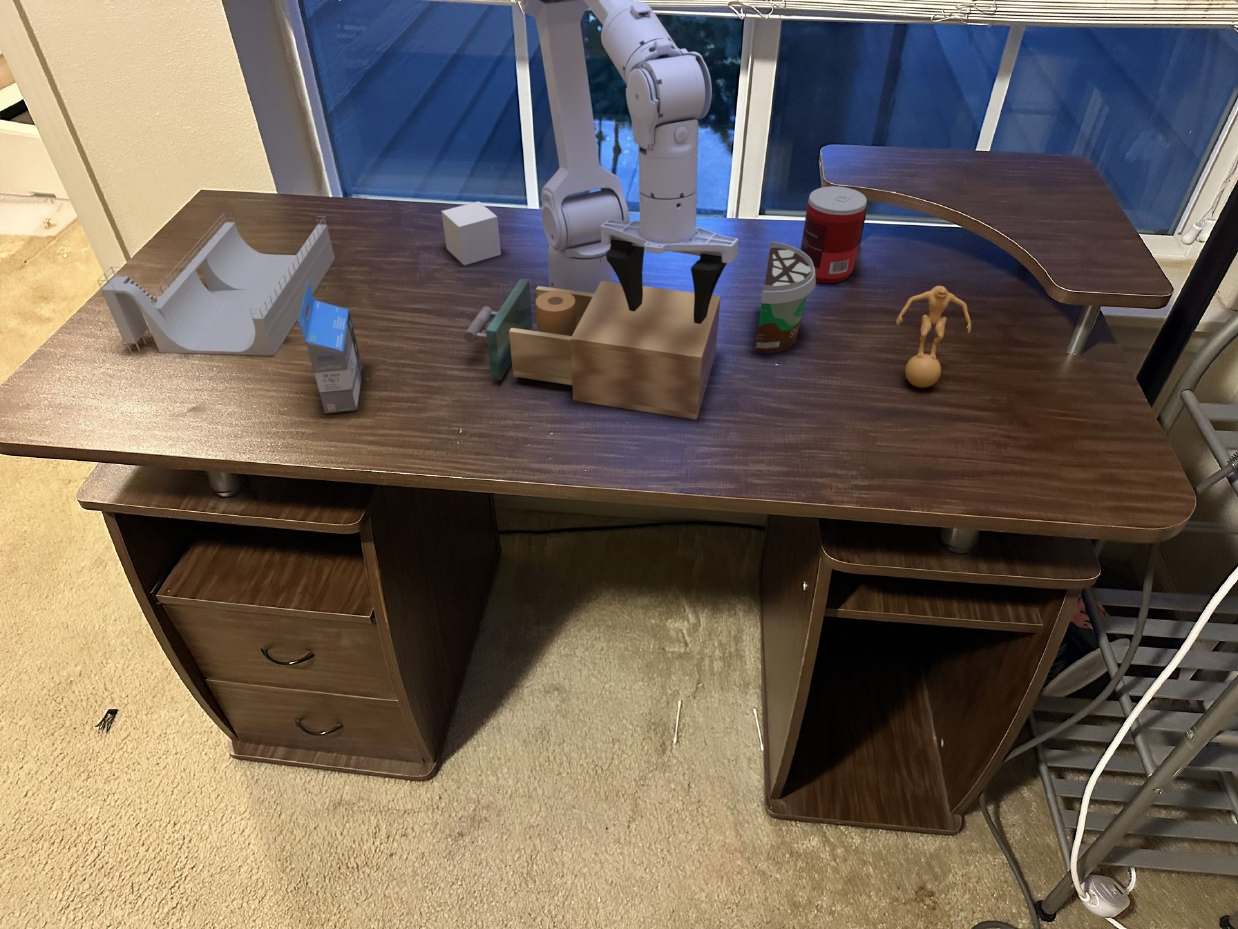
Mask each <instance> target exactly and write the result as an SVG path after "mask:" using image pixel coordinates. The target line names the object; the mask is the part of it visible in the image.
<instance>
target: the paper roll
mask: <svg viewBox="0 0 1238 929" xmlns="http://www.w3.org/2000/svg"><path fill="white" fill-rule="evenodd" d="M535 312H536V313H535V314H536V327H537V330H538V332H545V333H552V334H559V335H566V336H572V335H573V333H574V331H575V329H576V306H575V298H574V297H573V296H572V295H571V294H569V293H567V292H563V291H549V292H546V293H543V294H541V295H539V296H538V297H537V298H536V299H535Z"/></svg>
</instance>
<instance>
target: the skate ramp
mask: <svg viewBox="0 0 1238 929" xmlns="http://www.w3.org/2000/svg"><path fill="white" fill-rule="evenodd" d="M230 215H231V216H232V217H229V219H231V220H232V221H233V222H231V221H227V220H226V217H225V213H223V214H222V215H221V216H220V217H219V218H218V219H217V220H216V221H215V223H217V222H218V223H219V225H217V226H216V225H215V224H213V225H212V226H210V228H209V229H208V231H206V233H209V235H208V236H207V237H206V235H203V236H202V237H201V238H200V239H199V240H198V242H197V243H198V245H199V246H198V247H197V248H196V249H195V247H196V246H197V244H195V245H194V246H192V248H191V249H190V251H188V253H187V254H186V255H185V256H183V258H182V259H181V261H179V263H182V262H183V264H182V265H181V266H180V267H179V264H177V265H176V266H175V267H174V268H173V269H172V270H171V271H170V274H171V277H172V278H173V281H172V283H171V284H170V285H169V282H170V281H171V279H169V280H167V278H168V277H169V276H170V274H168V275H166V277H165V278H164V279H163V280H162V282H164V281H165V282H166V283H165V284H164V286H166V285H167V289H165V291H163V289H164V287H162V286H161V284H159V285H158V286H157V287H156V288H155V289H154V290H153V294H150V291H147V290H146V288H142V285H139V284H138V282H135V280H134V279H133V278H132V279H131V278H130V275H129V274H128V272H127V270H126V267H125V266H116V268H118V269H119V268H120V269H121V268H122V269H123V268H124V272H125V273H126V275H124V276H123V275H116V273H117V270H116V271H114V267H113V266H110V267H109V268H108V269H107V270H106V271H105V272H104V273H103V274H102V275H101V276H100V277H99V278H98V279H97V283H98V286H99V288H100V289H101V290H100V291H101V294H102V296H103V298H104V301H105V302H106V305H107V307H108V310H109V312H110V314H111V316H112V318H113V321H114V323H115V325H116V327H117V329H118V331H119V334H120V336H121V338H122V340H123V342H124V343H125V344H126V346H127V349H128V350H129V352H132V348H131V346H130V344H135V346H136V348H137V350H138V352H141V349H140V347H139V344H138V342H139V341H140V339H142V341H143V342H144V345H147V342H146V339H145V336H144V335H145V334H146V333H147V332H148V335H149V337H150V338H151V339H152V338H153V339H154V342H155V344H156V347H157V350H158V352H159V353H164V354H165V353H166V354H168V353H169V354H198V355H199V354H200V355H201V354H202V355H203V354H204V355H206V354H207V355H233V356H234V355H237V356H264V357H265V356H268V357H269V356H270V357H273V356H274V357H275V356H276V355H277V353H278V352H279V350H280V348H281V346H282V345H283V343H284V342H285V340H286V338H287V337H288V335H289V334H290V332H291V331H292V330H293V327H294V325H296V323H297V322H298V317H299V313H300V309H301V305H302V301H303V298H304V294H305V290H306V286H307V283H308V281H309V284H310V287H311V290H312V294H313V295H314V294H315V292H316V290H317V289H318V287H319V286H320V284H321V283H322V281H323V279H324V278H325V276H326V274H327V273H328V271H329V269H330V268H331V267H332V265H333V263H334V262H335V261H336V257H335V253H334V248H333V244H332V241H331V236H330V232H329V227H328V224H327V221H326V218H325V216H324V215H323V216H322V215H320V216H319V215H317V216H316V215H315V219H316V222H317V225H316V226H315V228H314V229H313V231H312V232H311V233H310V235H309V237H307V239H306V240H305V242H304V243H303V245H302V246H301V248H300V249H299V250H298V252H297V253H296V254H295V255H294V254H271V253H270V254H268V253H261V252H259V251H257V250H255V249H254V248H252V247H251V246H250V245H249V244H248V243H246V242H245V240H244V239H243V237H242V236H241V234H240V233H239V230H238V228H237V224H236V222H235V220H234V217H233V215H232V213H230ZM222 217H223V219H222V220H221V221H220V218H222ZM317 217H318V218H322V219H321V220H320V219H319V220H318V219H317ZM223 221H224V224H223V225H222V222H223ZM318 221H319V222H318ZM322 222H323V223H322ZM219 226H220V227H219ZM218 227H219V229H218V231H217V228H218ZM212 228H214V229H213V230H212V232H214V231H215V234H214V235H213V236H212V232H211V229H212ZM209 237H210V239H209V240H208V242H207V239H208V238H209ZM202 239H204V243H205V245H204V246H203V247H202V245H203V243H200V241H201V240H202ZM199 248H200V251H199V252H198V253H197V250H199ZM192 250H193V251H194V252H192V254H191V255H190V253H191V251H192ZM194 254H195V256H194V258H193V259H192V258H191V257H192V256H193V255H194ZM187 256H188V259H189V261H190V262H189V264H187V265H186V263H187V261H185V260H184V259H185V258H186V257H187ZM183 266H184V269H183V270H182V271H181V269H180V268H182V267H183ZM199 267H200V270H201V273H202V276H203V279H204V281H205V284H206V286H205V285H204V284H203V282H202V280H201V279H200V277H199V275H198V272H197V270H198V268H199ZM176 268H177V271H176V272H174V273H173V271H175V269H176ZM110 269H111V271H112V272H111V273H109V275H108V276H107V274H106V273H107V272H108V271H110ZM177 273H179V275H178V276H177V277H176V278H175V275H176V274H177ZM112 274H113V276H114V277H113V278H111V279H110V280H109V279H108V278H109V277H110V276H111V275H112ZM103 276H104V278H105V279H104V280H103V279H101V278H102V277H103ZM100 282H101V283H100ZM104 282H107V284H105V285H104V286H103V287H102V285H103V283H104ZM158 288H159V289H160V290H158V292H157V293H156V294H155V291H156V290H157V289H158ZM160 292H161V295H160V296H159V297H158V298H157V295H158V294H159V293H160ZM153 295H154V296H153Z"/></svg>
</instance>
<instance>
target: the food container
mask: <svg viewBox="0 0 1238 929" xmlns="http://www.w3.org/2000/svg"><path fill="white" fill-rule="evenodd" d="M765 271H766V272H765V278H764V284H763V288H762V294H761V302H760V311H759V318H758V325H757V326H758V327H757V333H756V342H755V349H754V353H758V354H770V353H771V354H773V353H778V352H781V351H784V350H787V349H788V348H790V347H792V346H793V345H794V344H795V342H796V340H797V337H798V333H799V329H800V326H801V322H802V318H803V314H804V309H805V305H806V302H807V298H808V296H809V295H810V294H811V293H812V292H813V291H814V290H815V287H816V285H817V284H816V283H817V282H816V278H815V268H814V266H813V262H812V260H811V259H810V257H809V256H808V255H807V254H806V253H804V252H803V251H801V249H799V248H798V247H795V246H793V245H789V244H786V243H783V242H778V241H770V243H769V250H768V257H767V263H766V270H765Z"/></svg>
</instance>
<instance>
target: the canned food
mask: <svg viewBox="0 0 1238 929" xmlns="http://www.w3.org/2000/svg"><path fill="white" fill-rule="evenodd" d="M867 202H868V198H867V197H866V195H864V193H862V192H860V191H859V190H856V189H853V188H849V187H845V186H837V185H835V186H834V185H833V186H823V187H819V188H816V189H814V190H812V191H811V192H810V194H809V197H808V199H807V205H806V212H805V218H804V224H803V230H802V237H801V244H800V245H801V246H800V250H801V251H803V252H804V253H806V254H807V255H808V256H809V257H810V259H811V260H812V262H813V266H814V268H815V278H816V283H820V284H837V283H841V282H843V281H846V280H847V279H848V278H849V277H850V276H851V274H852V273H853V270H854V267H855V262H856V257H857V253H858V248H859V243H860V239H861V234H862V229H863V224H864V220H865V215H866V211H867V210H866V209H867Z"/></svg>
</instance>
